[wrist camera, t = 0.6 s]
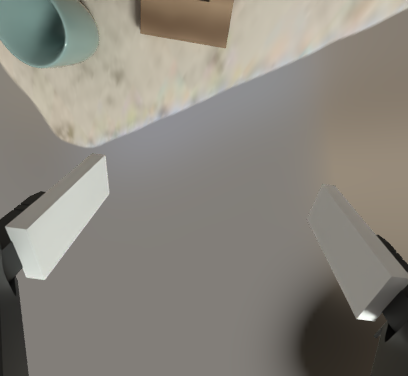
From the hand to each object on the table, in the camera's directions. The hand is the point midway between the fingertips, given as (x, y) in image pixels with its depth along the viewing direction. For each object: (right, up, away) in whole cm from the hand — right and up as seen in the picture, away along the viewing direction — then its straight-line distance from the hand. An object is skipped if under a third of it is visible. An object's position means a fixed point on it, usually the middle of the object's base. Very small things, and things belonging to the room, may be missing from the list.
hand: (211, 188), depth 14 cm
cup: (-18, +22, +18) cm, 33 cm away
